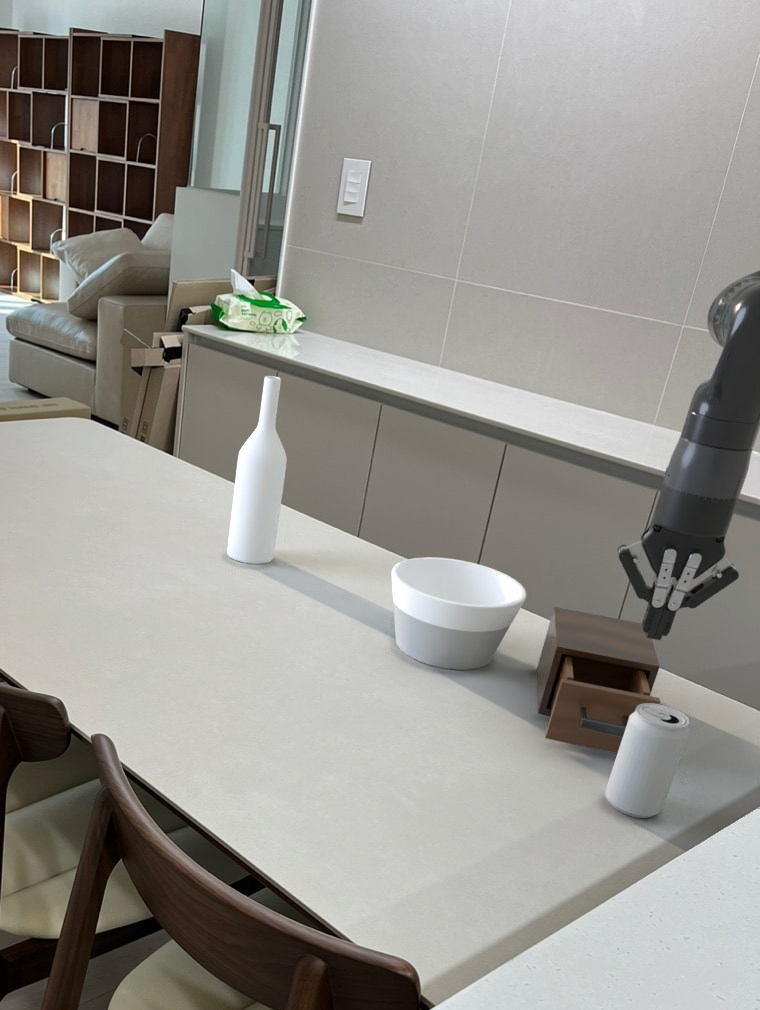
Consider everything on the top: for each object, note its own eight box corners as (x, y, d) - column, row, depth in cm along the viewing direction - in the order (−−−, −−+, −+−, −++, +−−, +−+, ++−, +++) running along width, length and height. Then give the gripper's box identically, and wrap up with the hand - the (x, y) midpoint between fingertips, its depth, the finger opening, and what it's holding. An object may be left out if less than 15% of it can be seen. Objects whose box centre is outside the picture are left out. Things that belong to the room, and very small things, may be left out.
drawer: (644, 777, 126) (665, 719, 122) (546, 756, 128) (562, 698, 124) (631, 711, 142) (649, 657, 138) (543, 693, 144) (558, 640, 140)
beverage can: (643, 827, 118) (677, 733, 112) (592, 801, 122) (622, 709, 116) (670, 810, 122) (703, 718, 116) (619, 785, 126) (650, 695, 120)
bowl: (474, 691, 144) (492, 619, 139) (354, 645, 154) (367, 575, 149) (529, 652, 158) (547, 585, 153) (416, 612, 168) (429, 547, 163)
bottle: (247, 567, 178) (270, 384, 164) (217, 551, 183) (237, 372, 169) (282, 560, 183) (308, 382, 168) (252, 545, 188) (274, 371, 174)
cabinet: (637, 733, 138) (660, 666, 134) (537, 713, 140) (556, 646, 136) (627, 687, 151) (648, 624, 146) (536, 669, 153) (554, 606, 149)
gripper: (639, 482, 108) (593, 637, 116) (776, 505, 106) (719, 661, 114) (633, 465, 115) (590, 613, 123) (762, 486, 112) (710, 636, 120)
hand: (653, 636), depth 118 cm, fingers closed
